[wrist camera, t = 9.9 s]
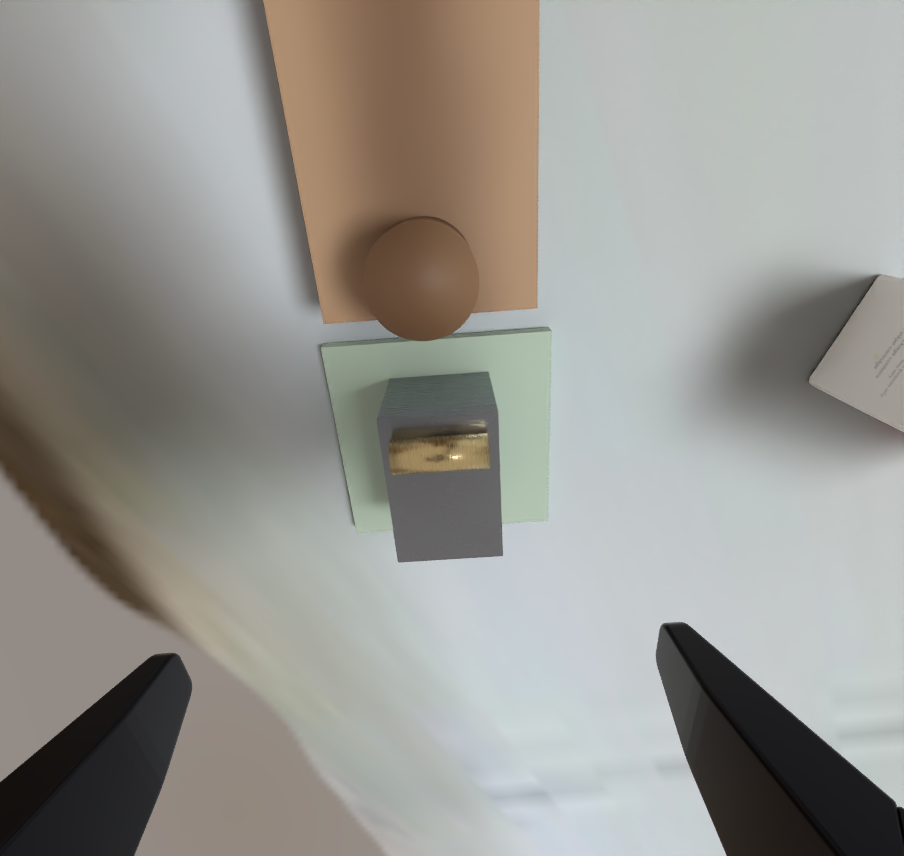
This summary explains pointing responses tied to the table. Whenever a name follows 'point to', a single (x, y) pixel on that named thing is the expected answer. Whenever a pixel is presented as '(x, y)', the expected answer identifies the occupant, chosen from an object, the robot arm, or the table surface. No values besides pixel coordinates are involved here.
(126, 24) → the table surface
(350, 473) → the mat
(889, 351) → the ink cartridge box
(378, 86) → the body
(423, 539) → the lever cap
